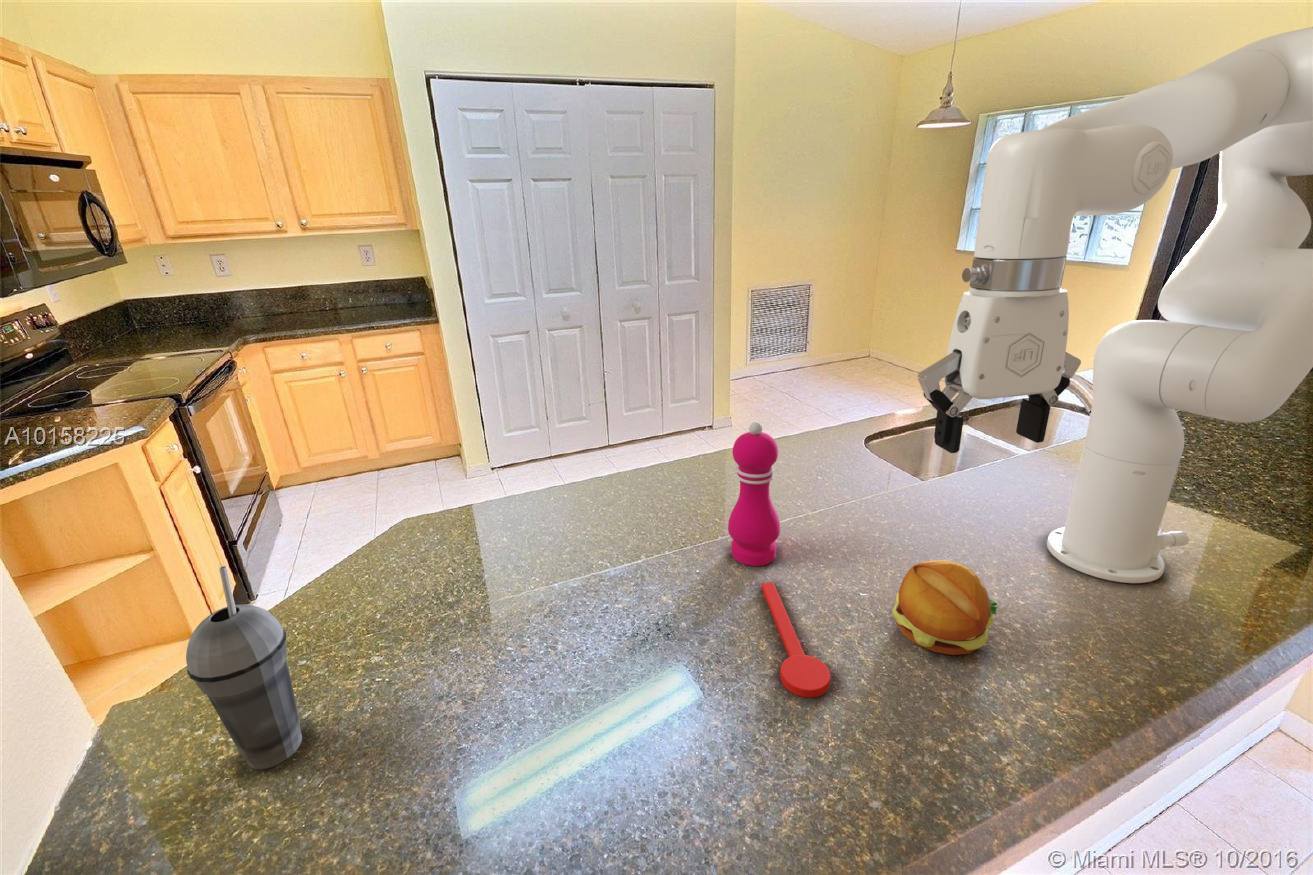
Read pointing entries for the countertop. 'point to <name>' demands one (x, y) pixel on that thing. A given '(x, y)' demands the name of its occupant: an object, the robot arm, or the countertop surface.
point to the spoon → (796, 653)
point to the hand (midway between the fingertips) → (988, 443)
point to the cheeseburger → (944, 607)
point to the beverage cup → (247, 679)
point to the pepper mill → (754, 499)
